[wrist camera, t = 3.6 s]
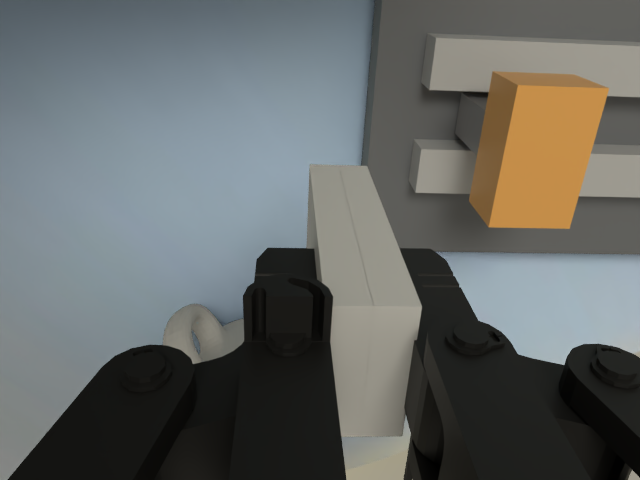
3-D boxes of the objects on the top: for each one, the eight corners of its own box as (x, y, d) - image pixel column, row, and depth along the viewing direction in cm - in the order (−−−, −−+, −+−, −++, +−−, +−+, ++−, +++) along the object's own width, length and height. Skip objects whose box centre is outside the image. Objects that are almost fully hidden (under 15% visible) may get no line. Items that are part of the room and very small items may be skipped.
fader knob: (442, 166, 25) (488, 227, 19) (460, 54, 23) (518, 85, 17) (506, 168, 25) (569, 228, 20) (529, 56, 23) (609, 88, 17)
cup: (130, 301, 30) (81, 406, 23) (252, 235, 29) (241, 326, 22) (237, 422, 35) (224, 541, 28) (347, 371, 33) (363, 483, 26)
